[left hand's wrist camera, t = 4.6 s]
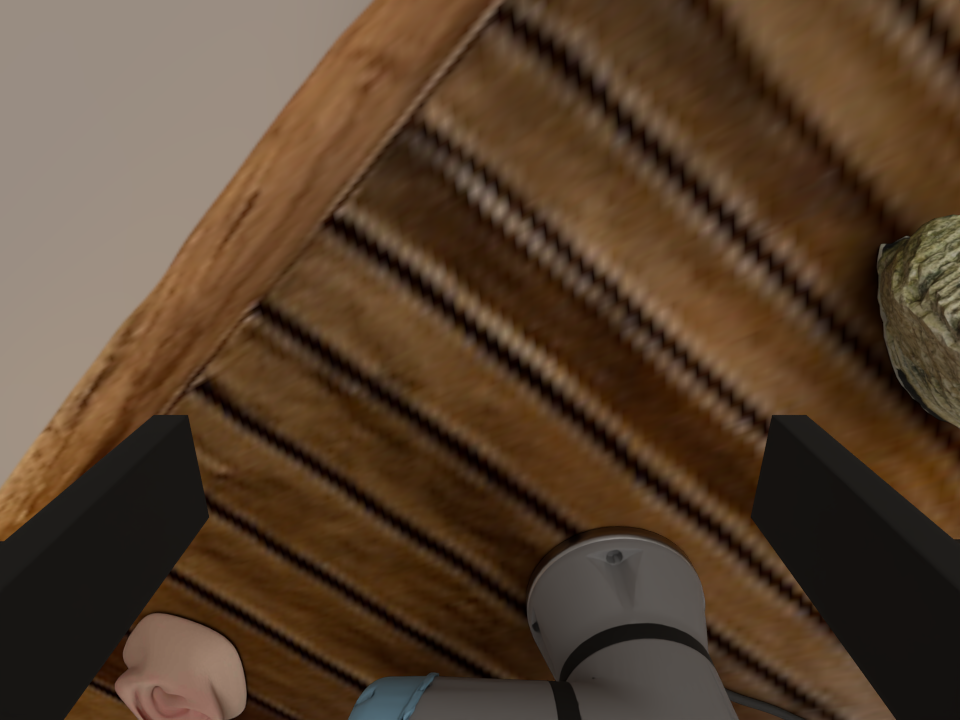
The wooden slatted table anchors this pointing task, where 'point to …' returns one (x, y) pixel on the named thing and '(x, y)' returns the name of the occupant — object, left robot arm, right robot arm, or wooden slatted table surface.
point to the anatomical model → (181, 672)
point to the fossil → (924, 314)
